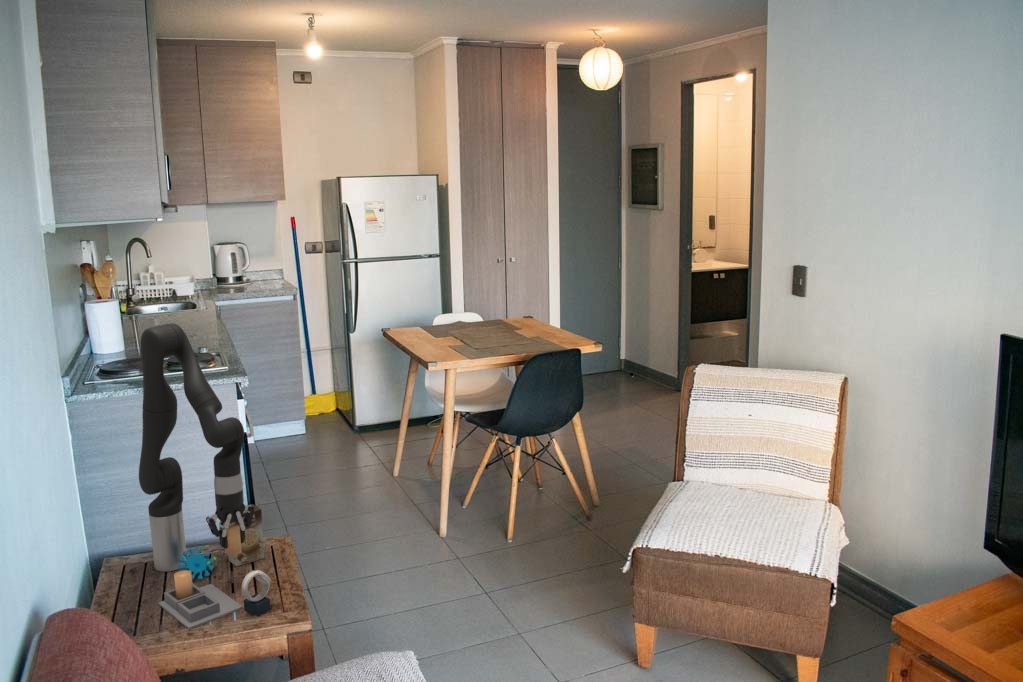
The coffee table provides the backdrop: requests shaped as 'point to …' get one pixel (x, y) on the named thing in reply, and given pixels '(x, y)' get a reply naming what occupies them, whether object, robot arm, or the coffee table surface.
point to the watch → (256, 602)
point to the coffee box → (251, 541)
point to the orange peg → (233, 539)
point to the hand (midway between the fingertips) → (232, 544)
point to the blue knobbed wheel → (197, 563)
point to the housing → (196, 602)
